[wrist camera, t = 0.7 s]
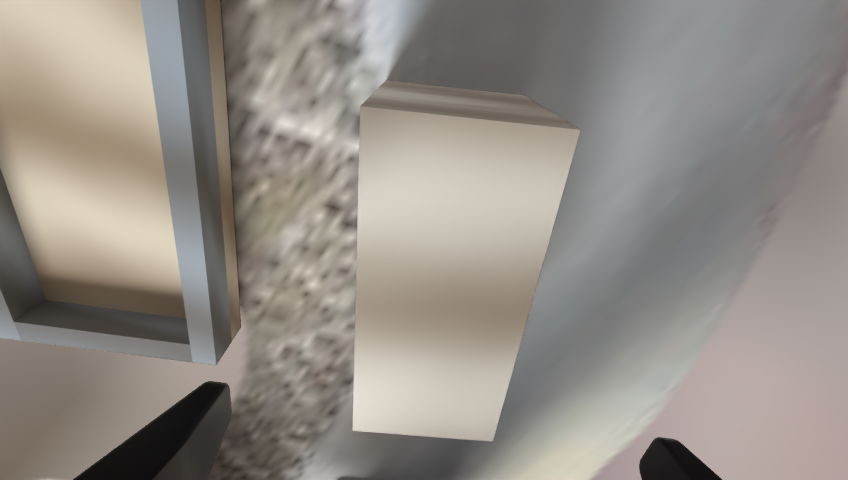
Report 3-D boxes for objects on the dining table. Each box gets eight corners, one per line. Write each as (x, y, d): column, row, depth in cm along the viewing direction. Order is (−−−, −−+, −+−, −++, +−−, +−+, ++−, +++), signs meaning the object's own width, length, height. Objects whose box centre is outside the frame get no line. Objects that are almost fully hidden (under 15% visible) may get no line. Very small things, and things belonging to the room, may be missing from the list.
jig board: (240, 327, 19) (216, 365, 17) (47, 301, 19) (-5, 337, 16) (215, -83, 12) (165, -110, 10) (-106, -147, 11) (-238, -193, 9)
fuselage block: (475, 329, 19) (492, 441, 14) (373, 320, 19) (352, 430, 14) (524, 95, 14) (580, 129, 9) (386, 79, 14) (360, 106, 9)
